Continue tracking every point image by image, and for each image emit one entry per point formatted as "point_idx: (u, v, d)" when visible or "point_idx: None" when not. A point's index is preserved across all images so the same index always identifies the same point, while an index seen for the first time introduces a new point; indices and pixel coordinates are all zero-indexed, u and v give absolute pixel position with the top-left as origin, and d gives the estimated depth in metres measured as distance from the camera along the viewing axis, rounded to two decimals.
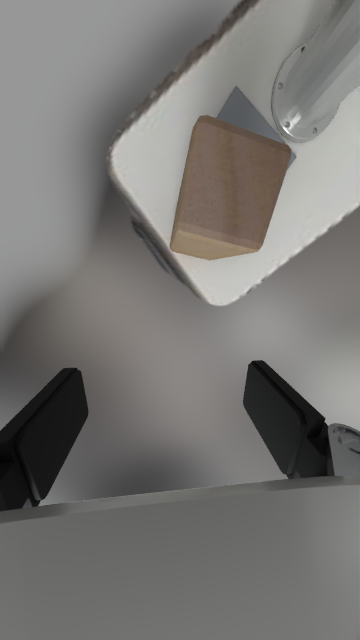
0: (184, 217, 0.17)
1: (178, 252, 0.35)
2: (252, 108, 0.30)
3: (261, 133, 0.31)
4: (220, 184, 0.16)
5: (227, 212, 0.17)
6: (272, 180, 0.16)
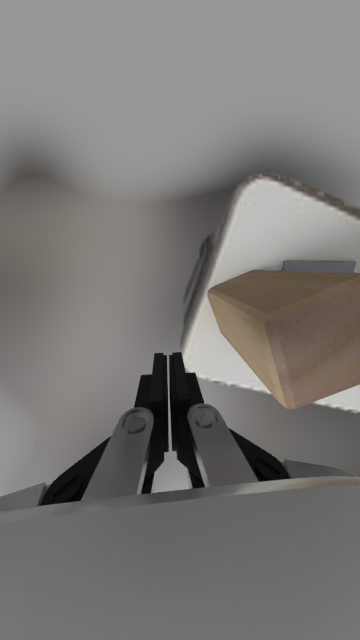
0: (281, 323, 0.13)
1: (210, 300, 0.31)
2: None
3: None
4: (332, 336, 0.13)
5: (309, 360, 0.14)
6: (355, 378, 0.15)
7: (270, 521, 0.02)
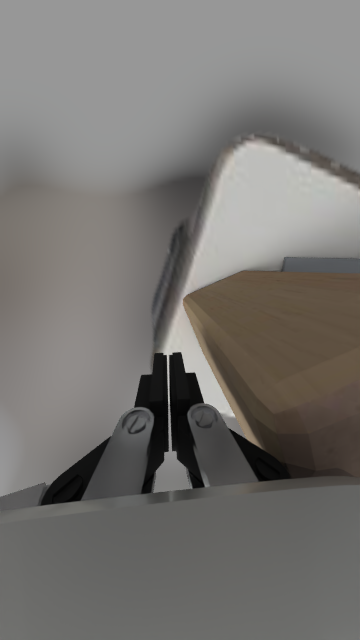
0: (320, 416, 0.05)
1: (186, 312, 0.22)
2: None
3: None
4: None
5: None
6: None
7: (270, 521, 0.02)
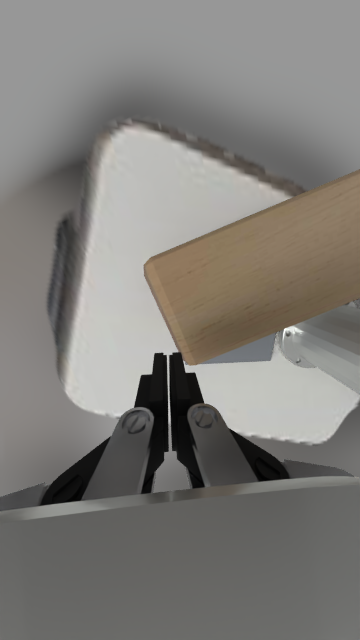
0: None
1: (168, 280, 0.12)
2: None
3: None
4: None
5: None
6: None
7: (270, 521, 0.02)
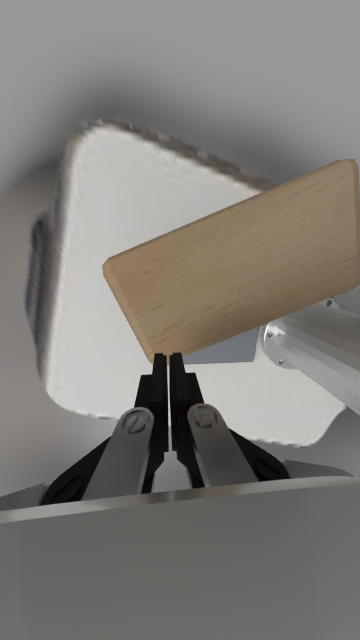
0: None
1: (125, 280, 0.12)
2: None
3: None
4: None
5: None
6: None
7: (270, 521, 0.02)
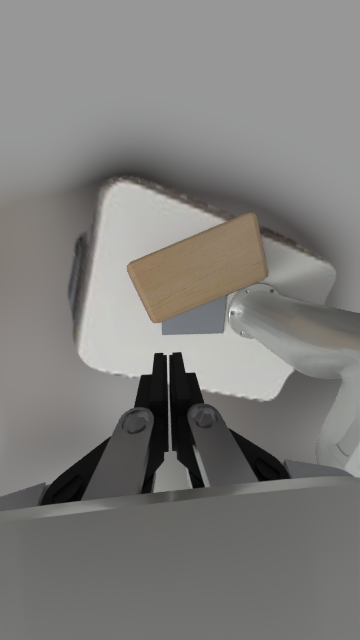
0: None
1: (139, 274, 0.24)
2: None
3: None
4: None
5: None
6: None
7: (270, 521, 0.02)
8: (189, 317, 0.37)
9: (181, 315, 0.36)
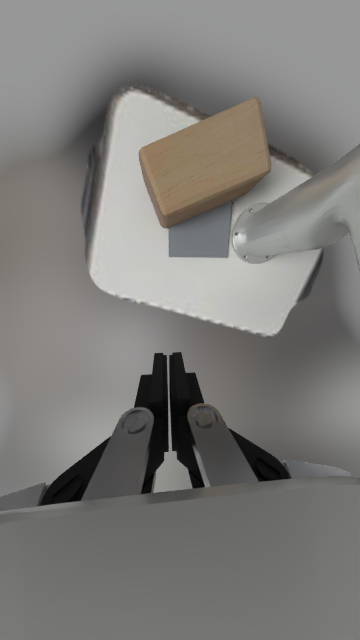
0: None
1: (150, 157, 0.25)
2: None
3: (222, 219, 0.38)
4: None
5: None
6: None
7: (270, 521, 0.02)
8: (195, 238, 0.39)
9: (187, 236, 0.38)
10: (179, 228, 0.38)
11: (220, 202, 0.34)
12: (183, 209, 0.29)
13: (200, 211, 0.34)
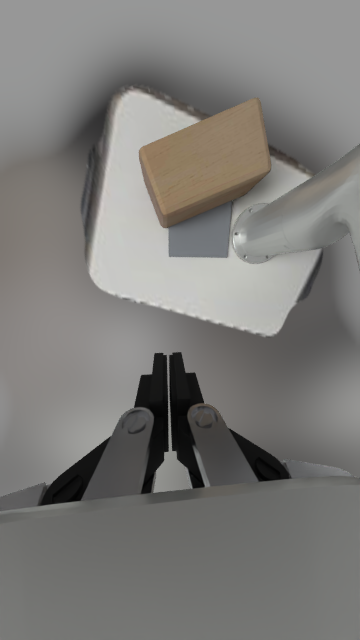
0: None
1: (150, 157, 0.25)
2: None
3: (222, 219, 0.38)
4: None
5: None
6: None
7: (270, 521, 0.02)
8: (195, 238, 0.38)
9: (187, 236, 0.38)
10: (179, 228, 0.38)
11: (220, 202, 0.34)
12: (183, 209, 0.28)
13: (200, 211, 0.34)
